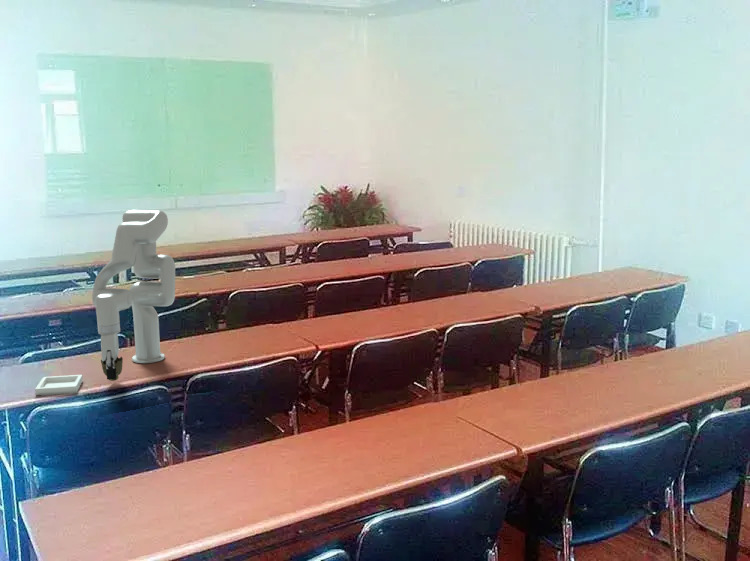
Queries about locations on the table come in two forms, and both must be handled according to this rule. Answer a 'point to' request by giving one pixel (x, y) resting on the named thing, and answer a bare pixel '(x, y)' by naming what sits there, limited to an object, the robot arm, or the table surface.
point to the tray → (59, 385)
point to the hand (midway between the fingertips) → (113, 375)
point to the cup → (118, 367)
